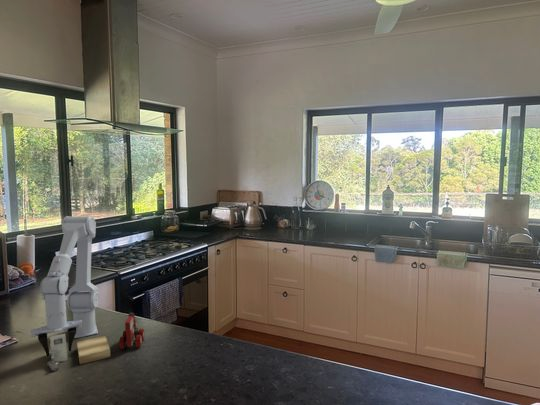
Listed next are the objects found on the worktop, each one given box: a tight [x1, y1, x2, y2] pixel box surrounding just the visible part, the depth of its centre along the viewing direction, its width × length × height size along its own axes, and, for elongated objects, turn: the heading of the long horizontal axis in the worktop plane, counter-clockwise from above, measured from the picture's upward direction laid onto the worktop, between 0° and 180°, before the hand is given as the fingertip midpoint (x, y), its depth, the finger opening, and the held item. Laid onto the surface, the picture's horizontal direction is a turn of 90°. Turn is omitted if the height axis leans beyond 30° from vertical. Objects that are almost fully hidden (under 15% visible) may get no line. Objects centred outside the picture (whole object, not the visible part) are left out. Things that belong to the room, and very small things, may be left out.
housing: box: [49, 333, 68, 364], centre depth 126 cm, size 8×4×7 cm, turn 30°
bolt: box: [46, 360, 61, 372], centre depth 119 cm, size 5×2×2 cm, turn 50°
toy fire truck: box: [118, 312, 145, 350], centre depth 134 cm, size 7×12×10 cm, turn 10°
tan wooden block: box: [76, 335, 111, 365], centre depth 128 cm, size 12×9×2 cm
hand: (59, 352), depth 126 cm, fingers open, 6 cm apart
